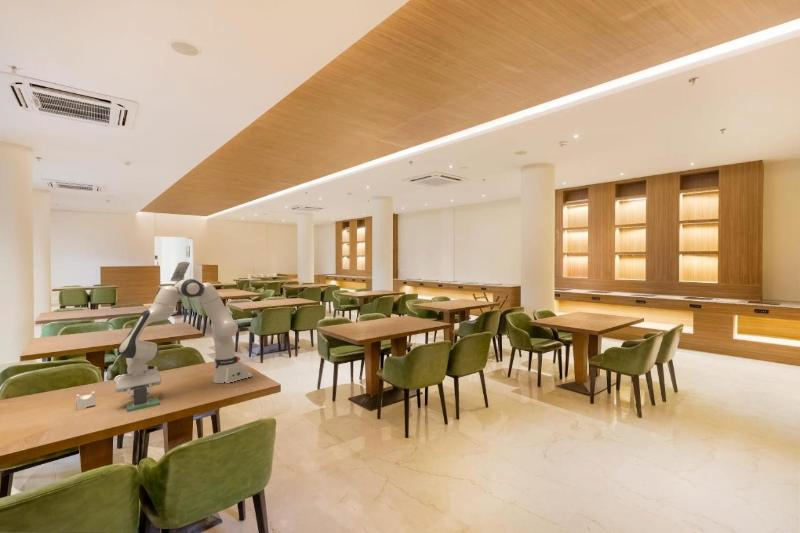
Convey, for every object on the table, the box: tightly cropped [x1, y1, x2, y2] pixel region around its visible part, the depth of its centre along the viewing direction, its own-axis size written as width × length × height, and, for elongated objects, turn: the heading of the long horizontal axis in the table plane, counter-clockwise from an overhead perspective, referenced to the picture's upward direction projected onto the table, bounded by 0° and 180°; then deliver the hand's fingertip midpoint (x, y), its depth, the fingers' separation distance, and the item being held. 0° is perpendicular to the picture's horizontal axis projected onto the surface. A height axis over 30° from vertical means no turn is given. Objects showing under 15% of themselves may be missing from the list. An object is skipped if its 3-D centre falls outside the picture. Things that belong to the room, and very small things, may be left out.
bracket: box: [76, 391, 96, 410], centre depth 202 cm, size 13×7×8 cm, turn 42°
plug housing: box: [132, 386, 148, 405], centre depth 199 cm, size 6×4×8 cm, turn 130°
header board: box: [125, 396, 161, 413], centre depth 200 cm, size 14×11×4 cm
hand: (140, 394), depth 198 cm, fingers closed on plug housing, 6 cm apart
